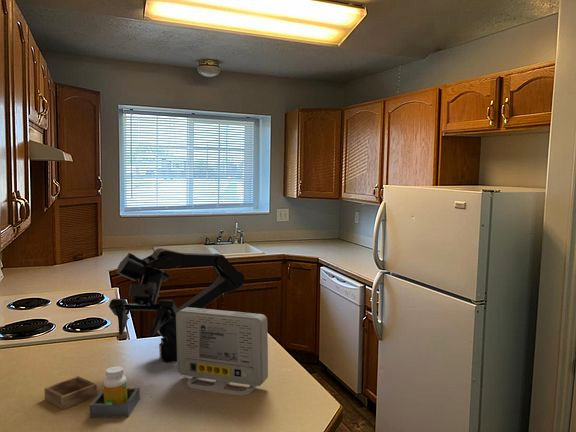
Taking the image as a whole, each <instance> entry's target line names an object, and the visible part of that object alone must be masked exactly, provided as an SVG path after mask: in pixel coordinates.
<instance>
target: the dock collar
mask: <svg viewBox="0 0 576 432" xmlns="http://www.w3.org/2000/svg"><path fill="white" fill-rule="evenodd" d="M140 392H141V389H140V387H127V402H126V403H113V401H106V402H105V403H104V388H103V389H102V390H101V391H100V392H99V393H98V394H97V396H95V397H94V399H93V400H92V402H91V403H90V404H89V418H93V419H94V418H129V417H130V415H131V414H132V412H133V411H134V410H135V408H136V406H137V404H138V403H139V401H140V400H141V395H140V394H141V393H140Z"/></svg>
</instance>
